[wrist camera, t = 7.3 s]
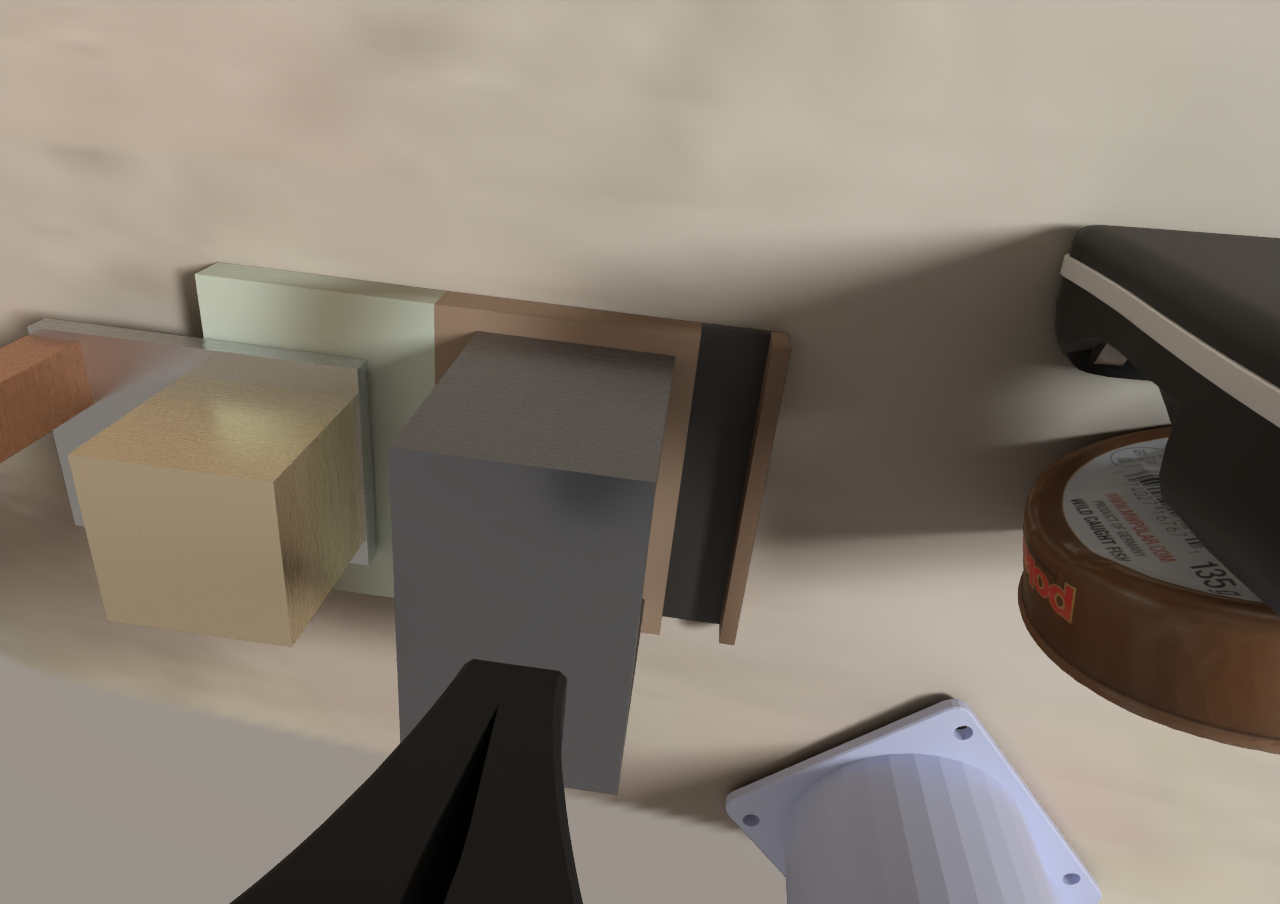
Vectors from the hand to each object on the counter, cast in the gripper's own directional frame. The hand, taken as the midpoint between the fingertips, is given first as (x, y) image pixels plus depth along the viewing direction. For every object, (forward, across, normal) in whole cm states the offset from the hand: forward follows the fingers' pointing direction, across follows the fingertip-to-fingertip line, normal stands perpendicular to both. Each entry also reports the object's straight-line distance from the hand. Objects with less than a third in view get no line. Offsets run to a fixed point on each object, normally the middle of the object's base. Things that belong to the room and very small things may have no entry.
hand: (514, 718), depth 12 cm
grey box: (+9, +1, +2) cm, 10 cm away
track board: (+10, +3, +2) cm, 11 cm away
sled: (+9, +9, +2) cm, 13 cm away
